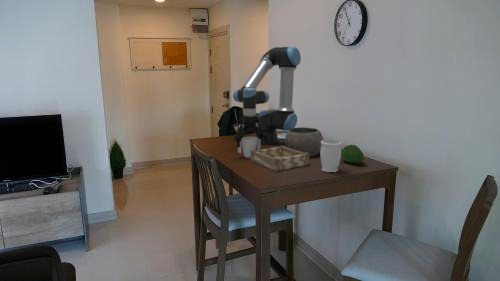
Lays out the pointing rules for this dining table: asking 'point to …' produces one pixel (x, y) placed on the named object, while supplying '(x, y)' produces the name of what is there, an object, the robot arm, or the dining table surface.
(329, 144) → the jar
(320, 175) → the dining table surface
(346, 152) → the fruit
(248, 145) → the cup
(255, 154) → the crate
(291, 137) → the bowl
